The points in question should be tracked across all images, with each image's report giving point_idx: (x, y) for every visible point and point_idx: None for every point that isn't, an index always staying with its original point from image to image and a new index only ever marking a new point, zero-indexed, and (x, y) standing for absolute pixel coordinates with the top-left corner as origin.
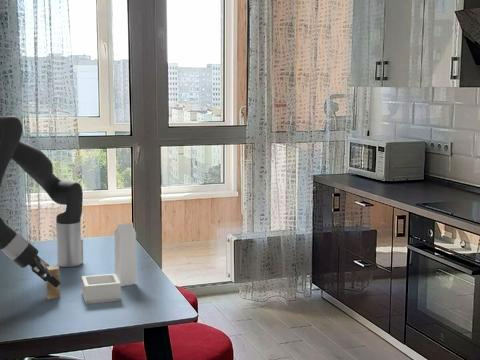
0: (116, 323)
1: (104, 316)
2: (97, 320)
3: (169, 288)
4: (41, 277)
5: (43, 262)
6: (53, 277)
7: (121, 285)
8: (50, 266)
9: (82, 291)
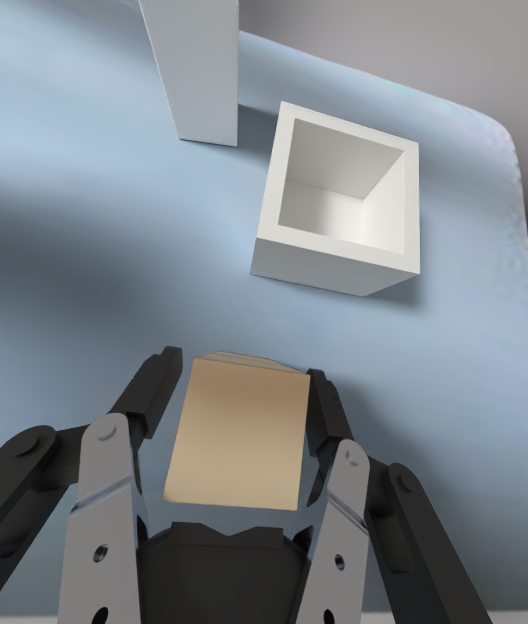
0: (518, 272)
1: (470, 281)
2: (493, 307)
3: (316, 62)
4: (409, 556)
5: (140, 620)
6: (337, 423)
7: (236, 140)
8: (180, 448)
9: (277, 273)
